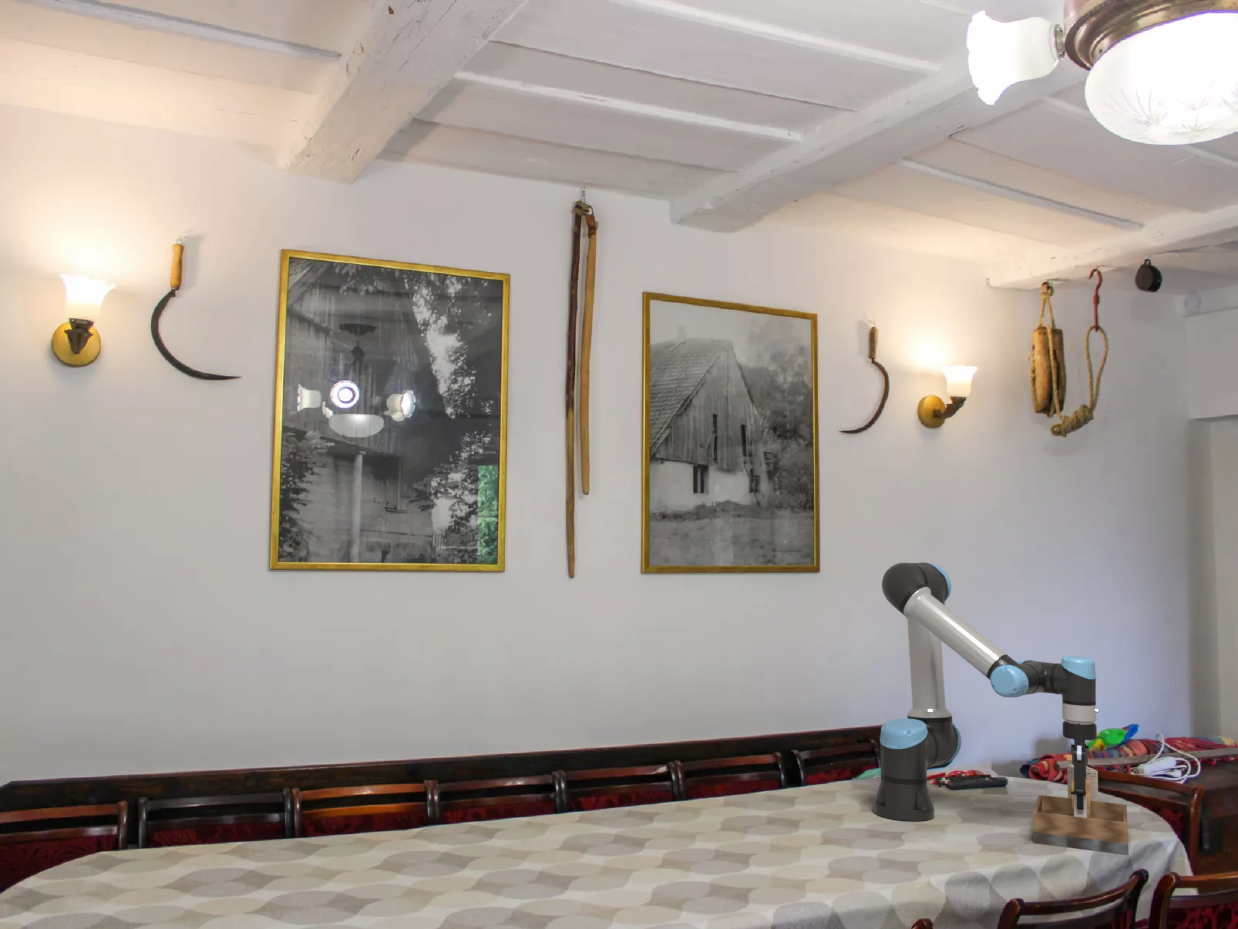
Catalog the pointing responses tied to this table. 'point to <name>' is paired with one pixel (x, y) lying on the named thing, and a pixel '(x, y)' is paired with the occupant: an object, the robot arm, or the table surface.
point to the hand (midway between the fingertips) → (1080, 819)
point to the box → (1081, 825)
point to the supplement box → (1090, 775)
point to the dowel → (1086, 797)
